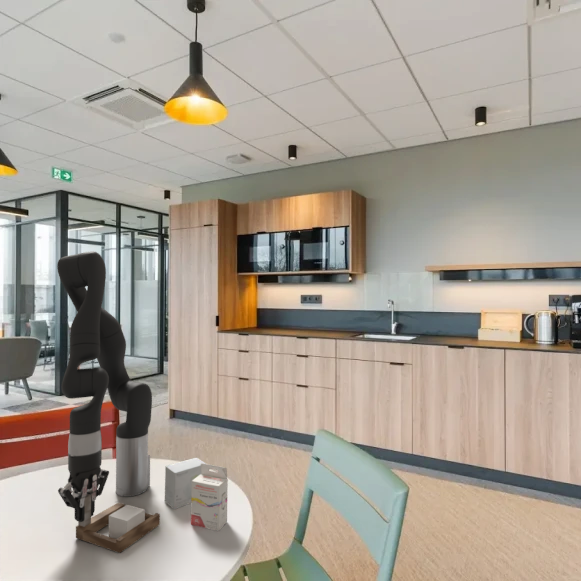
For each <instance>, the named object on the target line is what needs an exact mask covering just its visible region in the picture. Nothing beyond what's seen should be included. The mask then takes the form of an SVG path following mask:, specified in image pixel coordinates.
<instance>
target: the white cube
mask: <svg viewBox="0 0 581 581" xmlns="http://www.w3.org/2000/svg"><path fill="white" fill-rule="evenodd" d="M145 513H146V510H145V508H142V507H141V508H140V507H137V506H133V505H130V504H126V505H125V506H124V507H123V508H121V509H119V510H117V511H116V512H114V513H112V514H111V515H109V524H108V537H111V538H114V539H118V538H119V537H121V536H122V535H124V534H125V533H127V532H128V531H130V530H131V529H133V528H134V527H136V526H137V525H139V524H140V523H142V522H143V521H145Z"/></svg>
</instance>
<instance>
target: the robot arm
mask: <svg viewBox="0 0 581 581" xmlns="http://www.w3.org/2000/svg"><path fill="white" fill-rule="evenodd" d="M56 264H57V265H56V268H57V273H58V276H59V277H58V278H59V279H60V282H61V284H62V286H63V288H64V289H65V291H66V293H67V295H68V297H69V299H70V301H71V302H72V304H73V307H74V308H75V310H76V312H77V313H76V314H75V316H74V318H73V320H72V323H71V325H70V329H69V358H68V362H67V366H66V369H65V372H64V375H63V378H62V381H61V392H62V395H63V396H64V397H65V398H67V399H71V400H73V399H80V398H81V399H82V398H91V397H92V398H91V400H90V401H89V402H87V403H85V404H82V405H79V406H75V407H74V408H72V410H70V412H69V436H68V443H67V444H68V445H67V448H68V449H67V451H68V453H67V462H68V463H67V469H68V472H69V476H68V479H67V483H66V485H65V486H63V487H60V488H59V489H58V490H57V492H58V493H57V494H59V496H60V497H61V499H62V501H63V502H64V504H65V505H66V507H69V508H73V509H74V520H76V522H83V521H84V520H85V506H84V499H85V497H86V494H90V495H91V518H92V517H94V513H95V509H96V507H95V504H96V500H97V498H98V497H99V496H101V495H102V493H103V491H104V489H105V485H106V483H107V480H108V477H109V475H110V471H109V470H106V469H101V466H102V458H103V457H102V443H103V442H102V441H103V440H102V439H103V438H102V432H101V427H102V426H101V425H102V424H101V422H102V420H101V418H102V417H101V416H102V408H103V403H104V399H105V396H106V392H108V395H109V398H110V401H111V403H112V404H111V405H113V407H114V408H115V409H117V410H118V411H122V412H125V413H126V414H125V421H124V422H122V423H120V424H118V425H117V427H116V435H115V436H116V437H115V441H116V442H115V447H116V448H115V450H116V451H115V452H116V454H115V455H116V456H115V468H116V469H115V493H116V495H117V496H120V497H133V496H138V495H140V494H143V493H144V492H146V491H147V490H148V487H149V486H150V485H151V456H150V454H149V428H150V424H151V421H152V410H153V409H152V408H153V405H152V404H153V393H152V389H151V387H150V386H149V385H148V384H147V383H144V382H139V381H133V380H132V379H131V378H130V376H129V374H128V371H127V369H126V366H125V358H126V351H127V341H126V337H125V335H124V333H123V329H122V326H121V324H120V323H119V321H118V320H117V319H116V317H115V316H114V315H112V314H111V313H110V312H108V311H107V310H106V309H104V308H103V301H104V294H105V293H104V292H105V287H106V279H107V277H106V276H107V269H106V263H105V260H104V259H103V257H102V256H101V254H100V253H99V252H97V251H94V250H93V251H85V252H80V253H75V254H71V255H66V256H63V257H60V258H59V259H58V261H57V263H56ZM94 360H97V362H98V365H99V367H93V368H79V367H80V366H81V365H82V364H83V363H87V362H90V361H94Z"/></svg>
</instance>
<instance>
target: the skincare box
mask: <svg viewBox="0 0 581 581" xmlns="http://www.w3.org/2000/svg"><path fill="white" fill-rule="evenodd" d="M202 463H203V464H207V463H206V462H205V461H203V460H201V459H200V458H198V457H193V458H190V459H186V460H182V461H179V462H175V463H172V464H168V465H165V472H164V473H165V476H164V478H165V479H164V480H165V482H164V502H165V503H166V504H167V505H168V506H170V507H171V508H172V509H175V510H176V509H178V508H181V507H184V506H186V505H191V491H192V480H194V479H195V478H196V477H198V476H199V475H200V474H201V464H202Z"/></svg>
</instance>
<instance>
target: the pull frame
mask: <svg viewBox="0 0 581 581" xmlns="http://www.w3.org/2000/svg"><path fill="white" fill-rule="evenodd" d="M84 506H85V520H84V521H83V522H78V521H77V522H78V523H77V524H78V525H76V526H75V538H76V539H77V540H81V541H84V542H86V543H90V544H93V545H96V546H98V547H101V548H104V549H107V550H110V551H114V552H115V553H119V554H120V553H122V552H124V551H125V550H127V549H128V548H129V547H130V546H132V545H133V544H135V543H136V542H137V541H139V540H141V539H142V538H143V537H145V536H146V535H147V534H149V533H150V532H151V531H153V530H154V529H156V528H157V527H158V526H160V524H161V514H160V513H158V512H155V513H154V514H150V513H147V512H145V521H143V522H142V523H140V524H139V525H137V526H136V527H134V528H133V529H131V530H130V531H128V532H127V533H125V534H124V535H122V536H121V537H119V538H118V539H114V538H111V537H109V535H108V536H107V535H104V534H101V533H98V532H99V531H100V530H102V529H104V528H105V527H107V526H109V515H111V514H112V513H114V512H116V511H117V510H119V509H121V508H123V507H124V506H126V505H125V503H122V502H117V503H115V504H113V505H112V506H110V507H108V508H106V509H104V510H102V511H100V512H99V513H97V514H94V515H93V516H92V517H91V495H90V494H86V497H85V499H84Z"/></svg>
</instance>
